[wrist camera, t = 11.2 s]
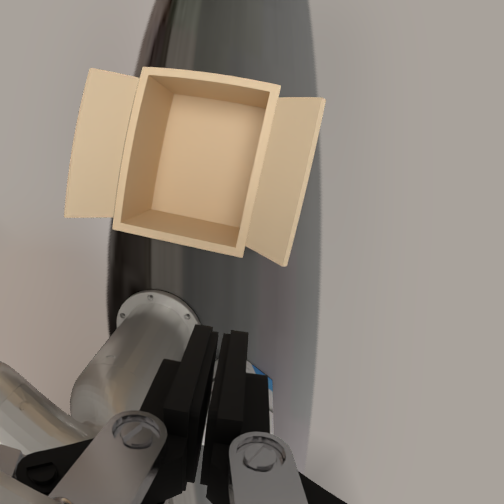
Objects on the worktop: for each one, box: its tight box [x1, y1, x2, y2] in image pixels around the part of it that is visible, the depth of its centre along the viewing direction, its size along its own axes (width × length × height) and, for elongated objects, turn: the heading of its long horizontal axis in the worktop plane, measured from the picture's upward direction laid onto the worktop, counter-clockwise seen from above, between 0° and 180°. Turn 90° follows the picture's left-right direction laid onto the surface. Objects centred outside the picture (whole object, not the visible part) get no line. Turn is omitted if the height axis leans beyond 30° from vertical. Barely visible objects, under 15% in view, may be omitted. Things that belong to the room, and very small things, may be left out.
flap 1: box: [64, 68, 139, 218], centre depth 25 cm, size 5×14×1 cm
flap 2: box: [245, 97, 326, 266], centre depth 25 cm, size 5×14×1 cm
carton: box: [113, 67, 281, 258], centre depth 32 cm, size 16×13×10 cm
